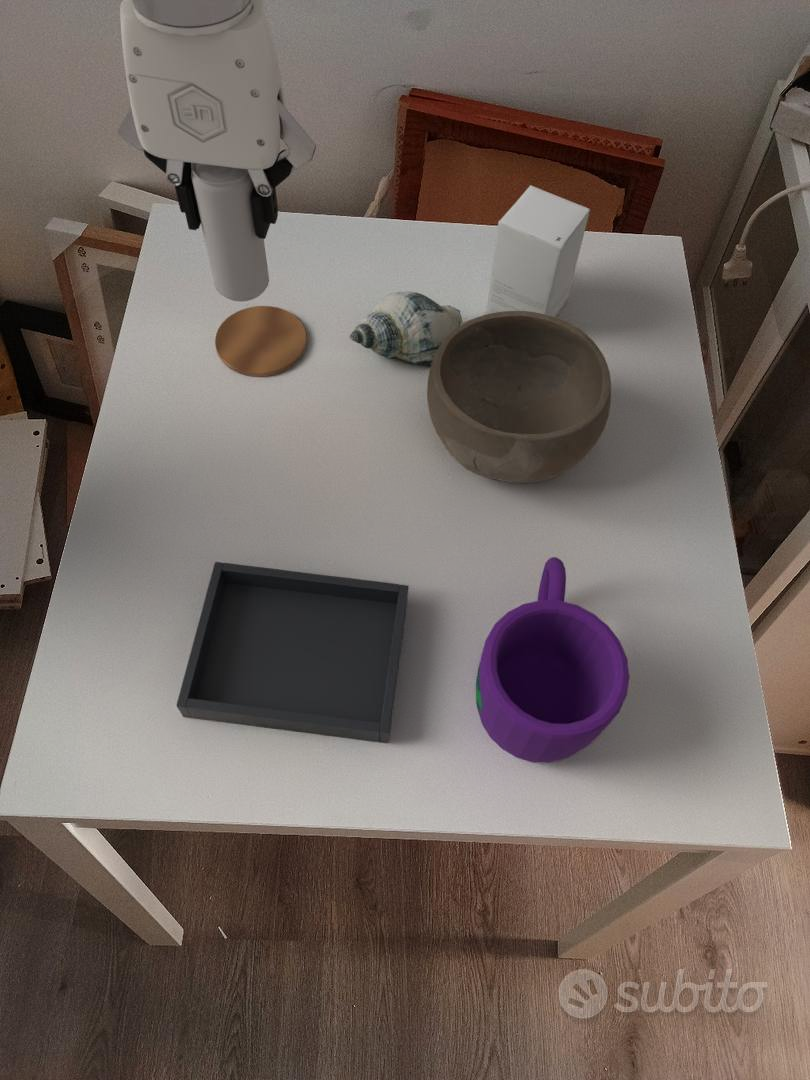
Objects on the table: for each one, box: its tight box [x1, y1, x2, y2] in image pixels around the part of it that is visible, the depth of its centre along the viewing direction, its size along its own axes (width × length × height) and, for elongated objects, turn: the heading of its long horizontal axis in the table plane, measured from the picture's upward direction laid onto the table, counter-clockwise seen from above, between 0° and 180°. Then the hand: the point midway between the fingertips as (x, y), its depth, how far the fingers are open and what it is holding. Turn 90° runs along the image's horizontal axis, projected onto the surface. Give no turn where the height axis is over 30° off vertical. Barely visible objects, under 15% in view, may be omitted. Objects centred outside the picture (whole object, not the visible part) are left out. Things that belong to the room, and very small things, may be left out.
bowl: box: [426, 311, 612, 484], centre depth 82 cm, size 17×18×10 cm
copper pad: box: [214, 305, 308, 377], centre depth 91 cm, size 10×10×1 cm
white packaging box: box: [485, 184, 591, 318], centre depth 90 cm, size 7×7×13 cm
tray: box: [176, 561, 409, 744], centre depth 72 cm, size 18×14×3 cm
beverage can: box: [191, 163, 270, 303], centre depth 68 cm, size 5×5×12 cm
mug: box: [475, 556, 630, 764], centre depth 69 cm, size 17×11×10 cm, turn 172°
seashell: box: [349, 290, 463, 366], centre depth 89 cm, size 6×8×12 cm
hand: (231, 221), depth 67 cm, fingers closed on beverage can, 4 cm apart
